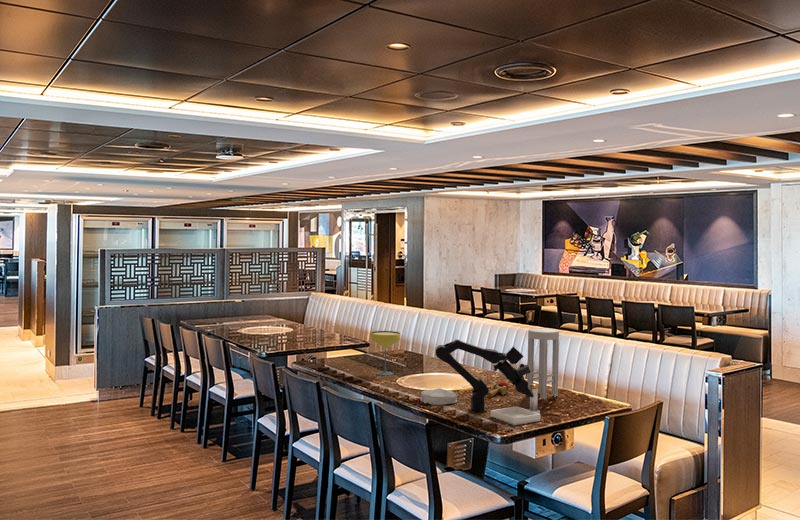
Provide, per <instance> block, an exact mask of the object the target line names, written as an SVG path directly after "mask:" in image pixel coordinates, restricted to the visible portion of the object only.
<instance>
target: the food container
mask: <svg viewBox="0 0 800 520" xmlns="http://www.w3.org/2000/svg"><path fill="white" fill-rule="evenodd" d="M420 392H421V397H420V399H419V400H420V402H422V403H423V402H424V403H423V404H429V405H434V406H435V405H438V406H439V405H440V406H443V405H450V404H451V405H452V404H455V403H458V395H457V394H456V393H455V392H454V391H450V390H447V389H443V388H441V387H438V388H434V389H425V390H423V391H420Z"/></svg>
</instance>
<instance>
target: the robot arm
mask: <svg viewBox="0 0 800 520" xmlns="http://www.w3.org/2000/svg"><path fill="white" fill-rule="evenodd" d="M457 350H460V351H463V352H466V353H470V354H472V355H475V356H478V357H481V358H482V359H484V360H485V361H488V362H490V363H491V364H493V371H494V372H496V371H497V370H498V371H499V372H501V374H502V375H503V376H504V377H505V379H507V380H508V381H509V382H510V383H511V385H513V386H514V389H515V391H517V392H518V393H520V394H522V395H525V396H528V397H529V398H530V397H533V394H532V393H531V391H530V390H529V388H528V382H527V380H526V379H525V375H527V373H530V372H531V371H530V369H529V367H528V364H524V363H520V364H519V367H518V368H515V367H513V366H512V365H516V364H518V363H519V362H520V361H521V359H523V358H524V355H523V354H522V353H521V352H520V351H519V350H518V349H517V348H516V347H514V346H512V347H511V348H510V349H509V350H508V351H507V352H506V353H504V352H500V351H499V350H496V349H492V348H491V349H490V348H482V347H479V346H478V345H474V344H471V343H468V342H465V341H463V340H460V339H454V340H453V341H451V342H447V343H445V344H439V345H438V346H436V347H435V356H436V357H437V358H438V359H439V360H441V361H442V362H444V363H445V364H448V365H449V366H450V367H451V368H452V369H453V370H455V371H456V372H457V373H458V375H460V377H462V378H463V379H464V380H466V382H467V383H468V384H469V385H470V386H471V387H472V388H473V389H472V390H471V397H470V408H468V411H469V412H472V413H475V414H480V413H486V412H487V410H486V409H485V397H486V396H487V394H488V392H490V391H489V387H488V384H487V382H486V381H485V380H483V379H482V377H481V376H479V377H478V378H477V377H476V376H474V375H473V374H472V373H471V372H470V371H468V369H467V368H466V367H465V366H463V364H461V363H460V362H459V361H458V360H457V359H456V358H455V357H454V356H453V355H452V353H453V352H455V351H457Z"/></svg>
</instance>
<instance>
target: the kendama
mask: <svg viewBox="0 0 800 520" xmlns="http://www.w3.org/2000/svg"><path fill="white" fill-rule="evenodd" d="M509 388H510V385H509V384H508V383H507V381H500V382H499V383H498V384H497V383H494V384H493V385H492V387H491V390H490V391H489V392H488V394H487V395H486V396H487V398H490V397H491V398H493V396H495V395H496V394H497V393H500V394H501V396H505V395H506V394H507V393H508V391H509ZM504 394H505V395H504Z"/></svg>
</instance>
